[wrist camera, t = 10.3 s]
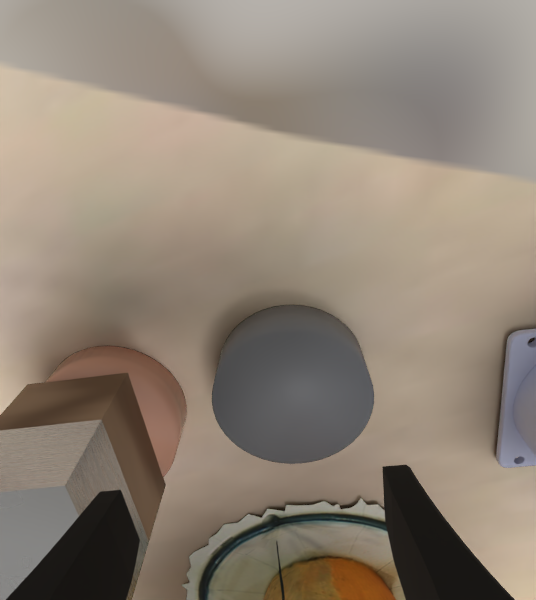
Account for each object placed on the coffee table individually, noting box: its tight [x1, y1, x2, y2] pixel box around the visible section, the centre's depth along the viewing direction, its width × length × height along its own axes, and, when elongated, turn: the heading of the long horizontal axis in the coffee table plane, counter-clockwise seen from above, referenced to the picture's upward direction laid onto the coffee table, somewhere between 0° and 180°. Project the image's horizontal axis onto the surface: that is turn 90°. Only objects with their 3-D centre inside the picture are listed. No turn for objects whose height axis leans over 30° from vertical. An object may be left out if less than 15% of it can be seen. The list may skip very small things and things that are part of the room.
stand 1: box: [46, 346, 187, 477], centre depth 21 cm, size 7×7×2 cm
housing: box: [0, 373, 165, 600], centre depth 17 cm, size 4×6×6 cm
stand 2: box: [212, 305, 374, 464], centre depth 20 cm, size 7×7×2 cm
